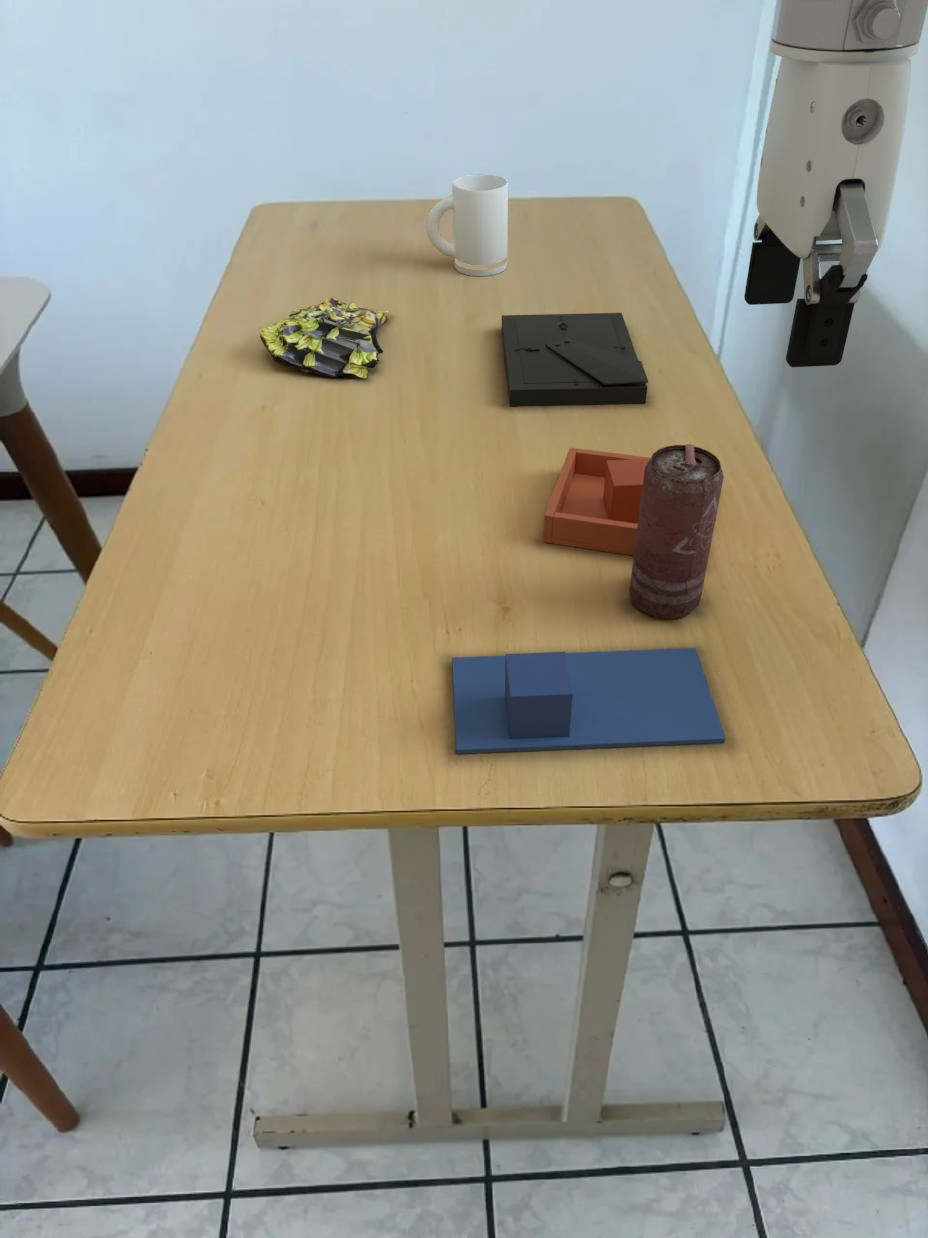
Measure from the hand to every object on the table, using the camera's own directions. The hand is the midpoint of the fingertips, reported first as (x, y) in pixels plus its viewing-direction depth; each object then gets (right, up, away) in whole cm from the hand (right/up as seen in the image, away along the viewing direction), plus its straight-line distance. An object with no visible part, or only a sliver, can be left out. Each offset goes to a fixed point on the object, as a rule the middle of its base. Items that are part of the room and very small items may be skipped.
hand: (788, 331), depth 61 cm
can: (-3, -17, +23) cm, 29 cm away
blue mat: (-12, -25, +14) cm, 31 cm away
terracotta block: (-5, -8, +32) cm, 33 cm away
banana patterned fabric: (-37, +17, +63) cm, 75 cm away
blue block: (-15, -26, +12) cm, 32 cm away
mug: (-20, +35, +83) cm, 92 cm away
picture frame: (-8, +13, +58) cm, 60 cm away
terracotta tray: (-5, -8, +32) cm, 34 cm away
